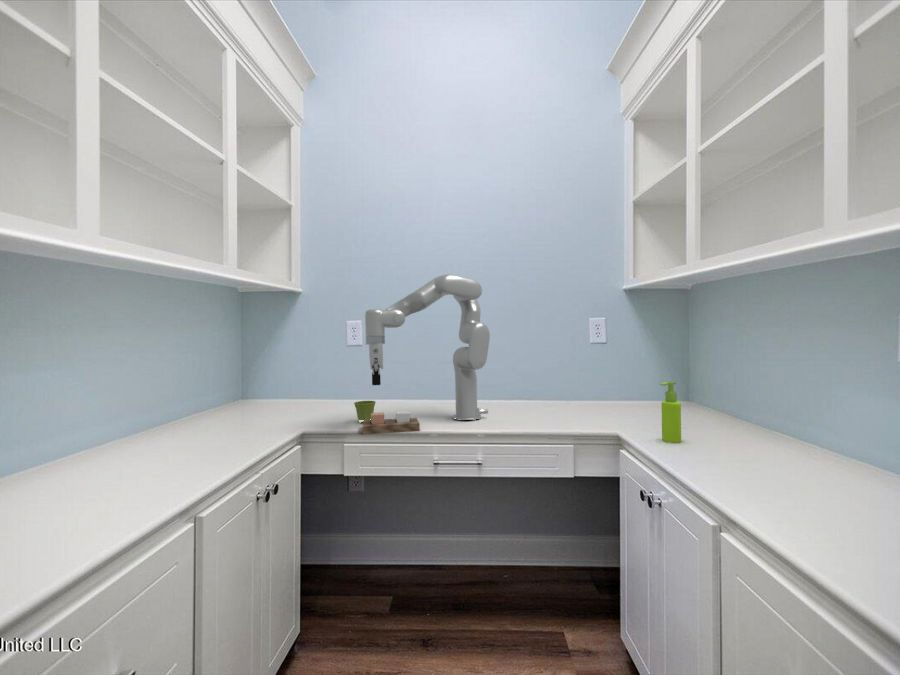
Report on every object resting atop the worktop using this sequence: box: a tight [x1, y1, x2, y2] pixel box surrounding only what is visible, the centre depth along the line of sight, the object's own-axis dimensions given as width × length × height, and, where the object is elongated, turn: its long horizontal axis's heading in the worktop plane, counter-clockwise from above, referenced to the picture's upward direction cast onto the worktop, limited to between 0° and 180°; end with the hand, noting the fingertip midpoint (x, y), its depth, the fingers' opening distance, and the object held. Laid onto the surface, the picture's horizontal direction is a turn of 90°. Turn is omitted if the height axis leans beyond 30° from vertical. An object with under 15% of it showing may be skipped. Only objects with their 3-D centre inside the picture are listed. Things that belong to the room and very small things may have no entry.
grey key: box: [395, 410, 411, 423], centre depth 184 cm, size 5×5×4 cm
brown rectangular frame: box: [361, 417, 421, 435], centre depth 183 cm, size 22×12×3 cm, turn 100°
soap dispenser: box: [659, 381, 682, 444], centre depth 155 cm, size 6×7×20 cm
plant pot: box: [353, 400, 377, 420], centre depth 199 cm, size 9×9×9 cm
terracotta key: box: [371, 412, 385, 424], centre depth 182 cm, size 5×5×4 cm
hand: (376, 383), depth 182 cm, fingers open, 9 cm apart
